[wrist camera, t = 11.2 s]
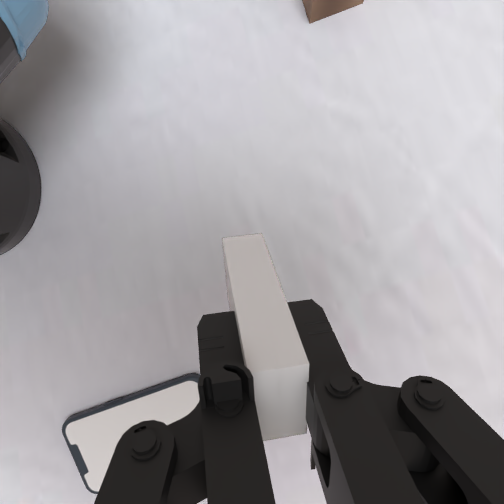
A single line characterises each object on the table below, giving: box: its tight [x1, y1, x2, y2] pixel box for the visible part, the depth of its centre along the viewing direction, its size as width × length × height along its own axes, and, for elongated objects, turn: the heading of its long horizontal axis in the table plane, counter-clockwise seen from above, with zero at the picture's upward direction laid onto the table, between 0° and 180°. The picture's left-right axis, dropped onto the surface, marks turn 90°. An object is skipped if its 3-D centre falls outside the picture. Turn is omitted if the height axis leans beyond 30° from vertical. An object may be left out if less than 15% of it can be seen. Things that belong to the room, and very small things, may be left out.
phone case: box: [62, 373, 201, 494], centre depth 44 cm, size 9×2×16 cm
